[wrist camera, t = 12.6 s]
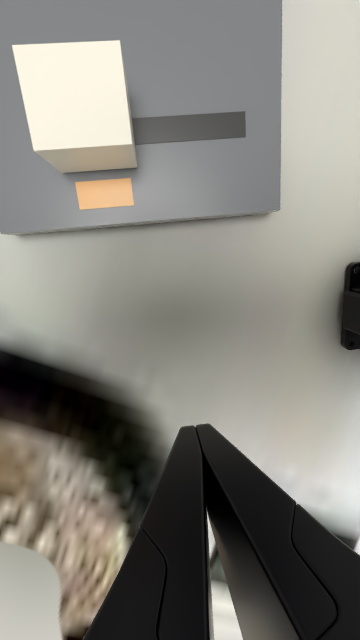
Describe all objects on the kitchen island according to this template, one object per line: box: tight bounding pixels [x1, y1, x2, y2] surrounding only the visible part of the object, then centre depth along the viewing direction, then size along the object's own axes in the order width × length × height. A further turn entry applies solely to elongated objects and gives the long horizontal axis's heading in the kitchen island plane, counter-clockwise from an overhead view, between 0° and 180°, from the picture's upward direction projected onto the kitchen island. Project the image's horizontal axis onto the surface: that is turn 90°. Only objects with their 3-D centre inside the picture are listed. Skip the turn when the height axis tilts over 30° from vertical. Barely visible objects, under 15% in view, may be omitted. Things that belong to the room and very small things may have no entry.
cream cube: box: [12, 40, 137, 173], centre depth 12 cm, size 4×4×4 cm
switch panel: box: [0, 0, 282, 235], centre depth 14 cm, size 16×20×2 cm
